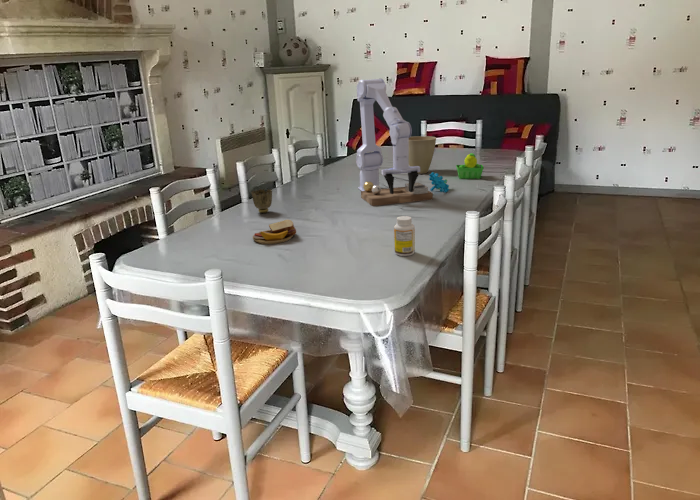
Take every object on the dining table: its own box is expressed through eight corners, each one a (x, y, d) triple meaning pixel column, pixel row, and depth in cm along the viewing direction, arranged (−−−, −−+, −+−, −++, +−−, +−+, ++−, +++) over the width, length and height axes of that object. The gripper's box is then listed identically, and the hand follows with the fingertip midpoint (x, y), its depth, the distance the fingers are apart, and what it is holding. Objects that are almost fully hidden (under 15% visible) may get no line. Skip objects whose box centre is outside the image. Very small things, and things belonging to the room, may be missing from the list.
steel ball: (370, 193, 214) (370, 184, 213) (379, 192, 215) (379, 183, 214) (373, 195, 211) (373, 186, 210) (382, 194, 212) (382, 185, 211)
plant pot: (437, 174, 255) (438, 139, 250) (405, 176, 255) (404, 140, 250) (433, 168, 269) (434, 135, 264) (402, 170, 270) (402, 136, 264)
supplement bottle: (402, 248, 159) (401, 214, 156) (418, 252, 156) (418, 216, 152) (390, 254, 155) (389, 218, 152) (407, 258, 152) (406, 221, 148)
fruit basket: (481, 175, 250) (482, 150, 246) (484, 179, 242) (485, 153, 238) (455, 176, 251) (456, 150, 248) (457, 180, 243) (457, 154, 239)
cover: (405, 189, 219) (405, 182, 218) (418, 187, 220) (418, 180, 219) (413, 194, 210) (413, 187, 209) (427, 193, 211) (427, 185, 210)
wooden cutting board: (361, 197, 220) (360, 191, 219) (418, 191, 225) (418, 185, 224) (371, 205, 206) (371, 199, 206) (432, 199, 212) (432, 193, 211)
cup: (277, 210, 206) (275, 188, 203) (268, 215, 199) (266, 193, 197) (259, 209, 208) (257, 188, 206) (249, 214, 202) (247, 192, 199)
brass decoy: (362, 191, 219) (361, 181, 218) (372, 190, 220) (371, 180, 219) (365, 193, 215) (364, 183, 214) (375, 192, 216) (374, 182, 215)
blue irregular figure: (440, 191, 217) (427, 171, 220) (430, 200, 220) (417, 180, 223) (455, 189, 225) (442, 170, 228) (445, 198, 229) (432, 179, 232)
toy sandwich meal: (252, 235, 179) (251, 220, 177) (295, 231, 181) (294, 217, 179) (253, 247, 167) (251, 231, 165) (298, 243, 169) (297, 228, 167)
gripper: (385, 159, 200) (386, 196, 205) (423, 156, 204) (423, 192, 208) (379, 156, 207) (380, 192, 211) (416, 153, 210) (416, 189, 214)
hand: (401, 192), depth 210 cm, fingers open, 7 cm apart
